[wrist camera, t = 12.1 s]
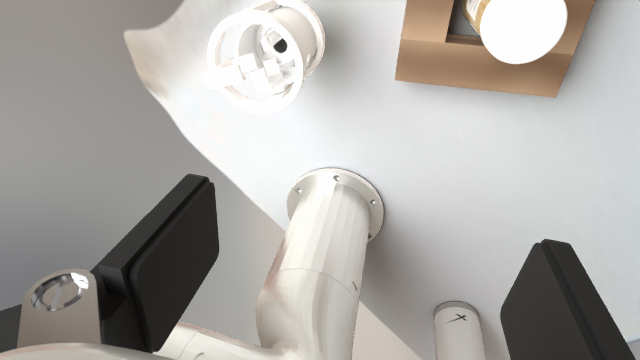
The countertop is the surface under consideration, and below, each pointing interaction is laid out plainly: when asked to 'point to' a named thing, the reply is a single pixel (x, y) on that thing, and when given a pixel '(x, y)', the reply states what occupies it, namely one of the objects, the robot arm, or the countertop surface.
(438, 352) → the travel mug
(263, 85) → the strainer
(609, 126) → the countertop surface
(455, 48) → the walnut socket block
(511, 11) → the sprinkles bottle
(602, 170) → the countertop surface
